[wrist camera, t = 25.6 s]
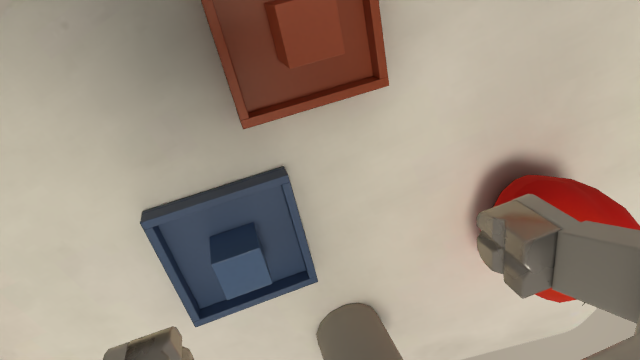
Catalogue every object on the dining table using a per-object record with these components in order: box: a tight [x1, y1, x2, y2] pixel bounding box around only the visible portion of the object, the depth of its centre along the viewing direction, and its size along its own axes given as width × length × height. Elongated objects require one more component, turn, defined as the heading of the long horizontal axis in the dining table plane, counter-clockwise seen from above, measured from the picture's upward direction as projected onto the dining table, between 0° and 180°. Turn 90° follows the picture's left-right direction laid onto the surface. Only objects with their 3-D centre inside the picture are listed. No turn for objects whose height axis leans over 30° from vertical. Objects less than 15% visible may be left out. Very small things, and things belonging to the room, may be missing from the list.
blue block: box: [209, 223, 273, 300], centre depth 38 cm, size 4×4×4 cm
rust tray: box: [201, 0, 389, 129], centre depth 32 cm, size 14×14×2 cm
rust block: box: [264, 0, 345, 69], centre depth 31 cm, size 4×4×4 cm
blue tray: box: [140, 167, 318, 327], centre depth 39 cm, size 14×14×2 cm
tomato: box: [493, 175, 640, 306], centre depth 43 cm, size 16×14×14 cm
